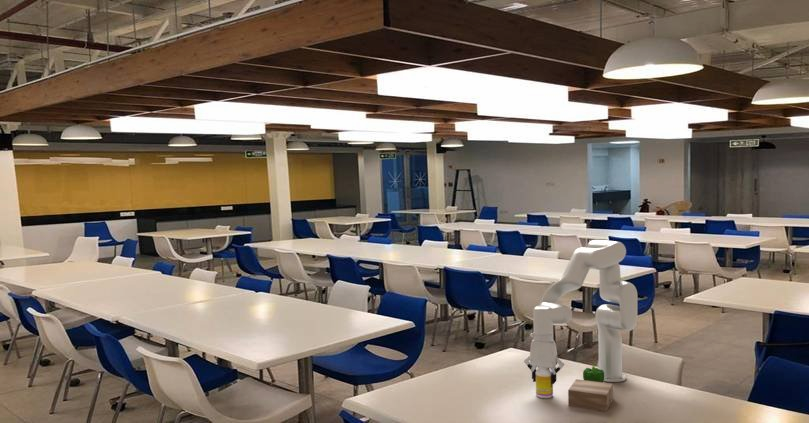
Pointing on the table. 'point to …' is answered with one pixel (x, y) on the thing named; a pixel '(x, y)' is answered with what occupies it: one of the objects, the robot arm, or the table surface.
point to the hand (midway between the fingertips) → (544, 381)
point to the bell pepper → (593, 374)
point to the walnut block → (590, 394)
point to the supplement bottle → (544, 383)
